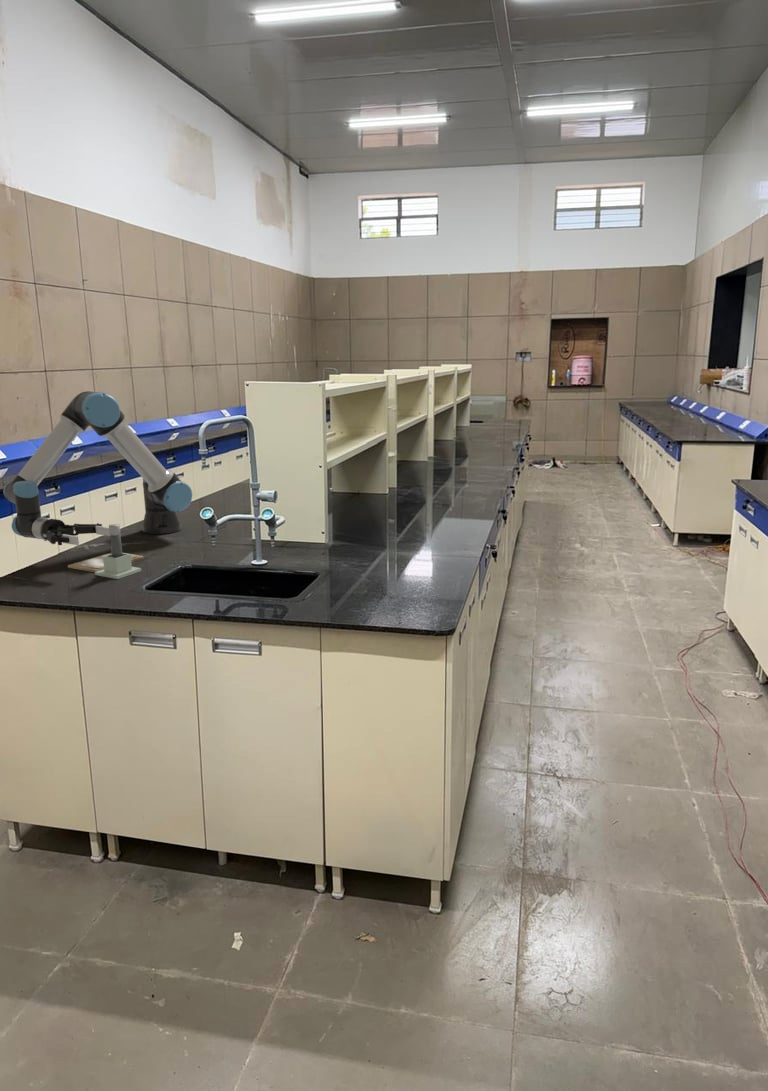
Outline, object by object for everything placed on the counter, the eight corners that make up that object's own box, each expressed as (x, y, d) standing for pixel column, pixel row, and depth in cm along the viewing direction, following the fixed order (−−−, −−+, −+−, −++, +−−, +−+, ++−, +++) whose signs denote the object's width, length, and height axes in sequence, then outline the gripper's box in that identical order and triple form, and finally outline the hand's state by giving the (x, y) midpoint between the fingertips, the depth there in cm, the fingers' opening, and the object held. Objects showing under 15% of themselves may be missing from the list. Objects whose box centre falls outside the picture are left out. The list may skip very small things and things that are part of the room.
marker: (119, 568, 240) (115, 523, 237) (126, 569, 239) (121, 524, 235) (111, 570, 238) (106, 525, 234) (117, 572, 236) (113, 526, 232)
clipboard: (114, 553, 262) (114, 549, 262) (143, 558, 256) (143, 554, 255) (68, 567, 245) (67, 563, 244) (97, 573, 239) (97, 568, 238)
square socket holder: (119, 567, 245) (117, 549, 244) (141, 571, 241) (139, 553, 239) (95, 574, 236) (93, 557, 235) (117, 579, 232) (115, 560, 230)
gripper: (80, 532, 261) (124, 539, 252) (18, 548, 240) (64, 556, 230) (78, 511, 259) (122, 517, 250) (15, 526, 238) (61, 533, 228)
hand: (94, 536), depth 240 cm, fingers open, 13 cm apart
